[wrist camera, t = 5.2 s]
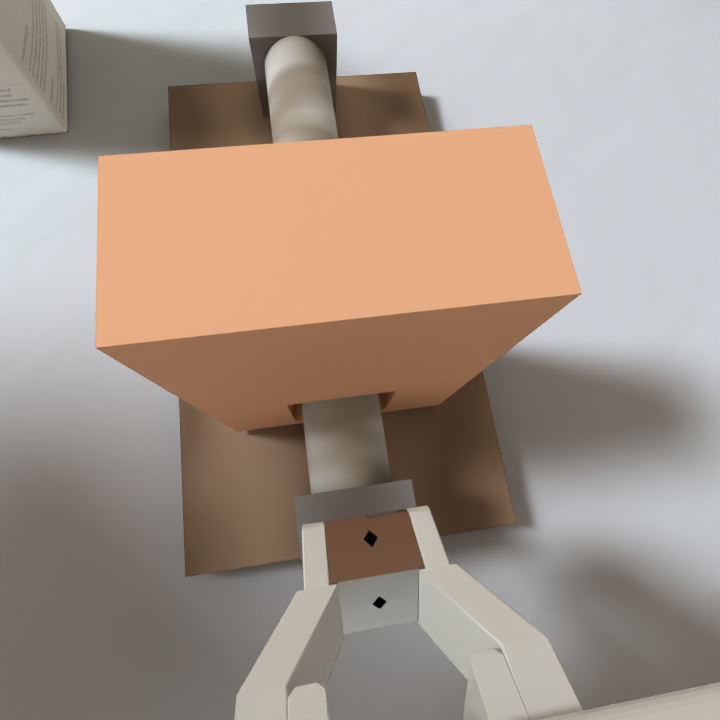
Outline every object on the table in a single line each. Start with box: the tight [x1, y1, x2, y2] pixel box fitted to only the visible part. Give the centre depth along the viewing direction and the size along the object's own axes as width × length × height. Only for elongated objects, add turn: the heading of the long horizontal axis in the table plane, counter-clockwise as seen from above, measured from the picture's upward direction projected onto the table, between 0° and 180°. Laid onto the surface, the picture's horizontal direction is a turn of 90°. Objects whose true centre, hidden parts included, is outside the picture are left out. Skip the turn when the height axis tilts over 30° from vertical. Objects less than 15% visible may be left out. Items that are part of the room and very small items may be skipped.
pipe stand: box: [168, 1, 516, 577], centre depth 21 cm, size 14×25×6 cm, turn 8°
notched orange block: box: [95, 125, 582, 432], centre depth 15 cm, size 9×4×12 cm, turn 98°
